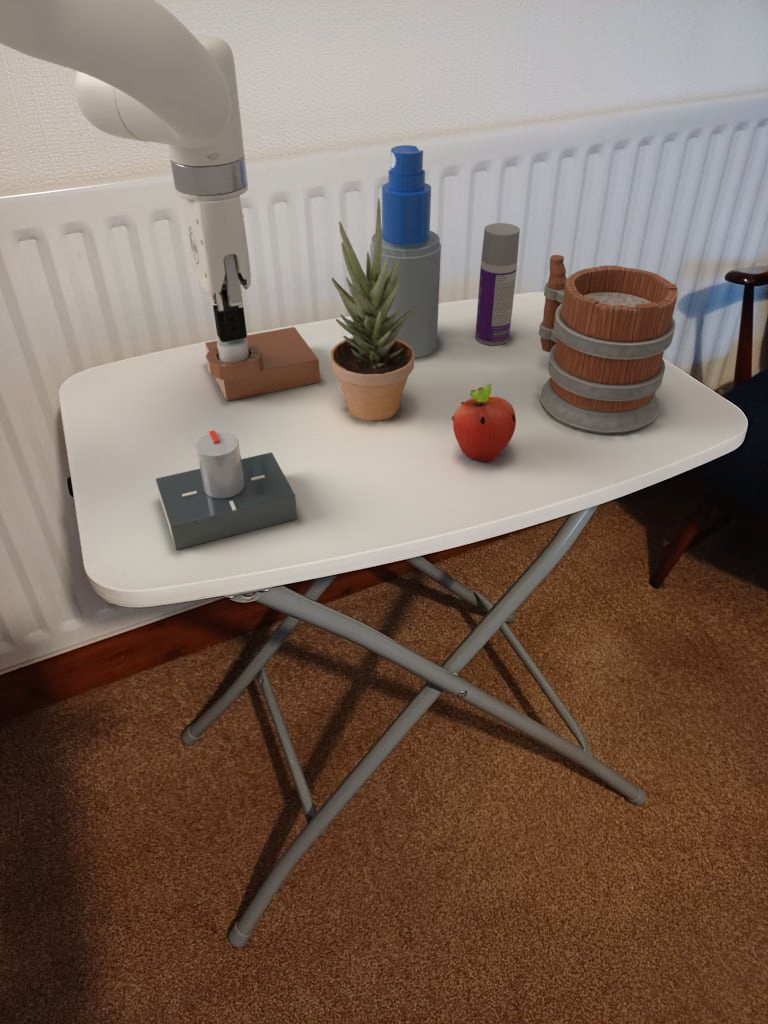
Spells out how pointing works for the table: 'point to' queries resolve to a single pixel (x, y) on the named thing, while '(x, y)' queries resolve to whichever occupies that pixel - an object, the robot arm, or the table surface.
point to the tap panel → (226, 503)
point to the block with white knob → (265, 365)
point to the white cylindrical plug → (233, 350)
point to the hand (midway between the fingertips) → (232, 337)
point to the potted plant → (371, 336)
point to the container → (497, 283)
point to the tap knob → (220, 464)
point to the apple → (484, 425)
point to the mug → (605, 345)
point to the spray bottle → (411, 248)
